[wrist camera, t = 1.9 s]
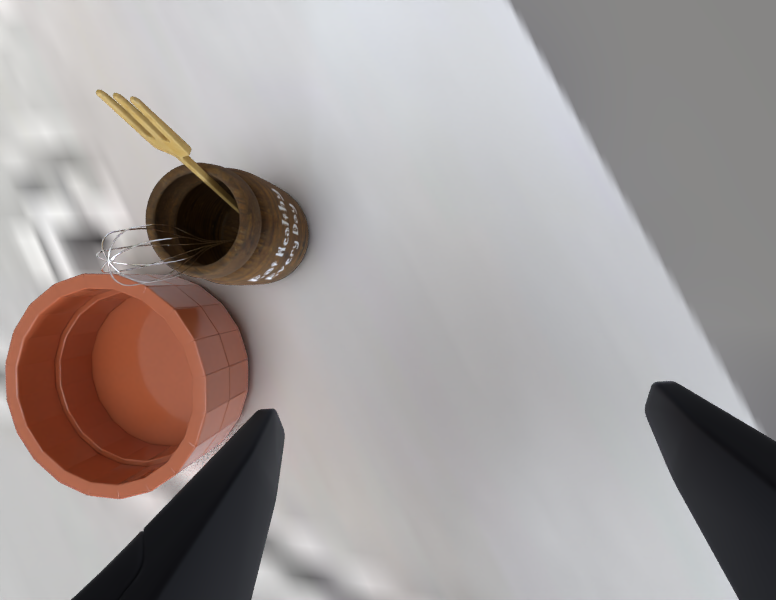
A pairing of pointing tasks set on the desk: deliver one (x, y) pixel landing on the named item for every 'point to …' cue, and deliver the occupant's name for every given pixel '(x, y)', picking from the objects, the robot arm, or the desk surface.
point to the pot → (124, 380)
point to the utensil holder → (212, 214)
